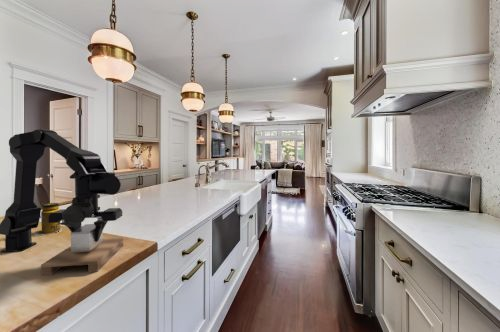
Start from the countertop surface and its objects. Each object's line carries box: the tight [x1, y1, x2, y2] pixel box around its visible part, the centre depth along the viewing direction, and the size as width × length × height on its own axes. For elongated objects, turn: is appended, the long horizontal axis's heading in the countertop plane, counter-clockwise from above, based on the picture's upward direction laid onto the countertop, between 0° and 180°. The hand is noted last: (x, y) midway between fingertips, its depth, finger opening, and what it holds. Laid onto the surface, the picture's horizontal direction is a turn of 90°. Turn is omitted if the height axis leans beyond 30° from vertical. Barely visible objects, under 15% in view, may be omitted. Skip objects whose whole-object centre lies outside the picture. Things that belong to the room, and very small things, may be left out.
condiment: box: [34, 202, 63, 237], centre depth 94 cm, size 7×8×12 cm
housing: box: [70, 223, 104, 252], centre depth 70 cm, size 8×5×6 cm, turn 9°
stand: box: [40, 237, 124, 276], centre depth 70 cm, size 18×14×3 cm
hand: (87, 241), depth 70 cm, fingers closed on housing, 5 cm apart
